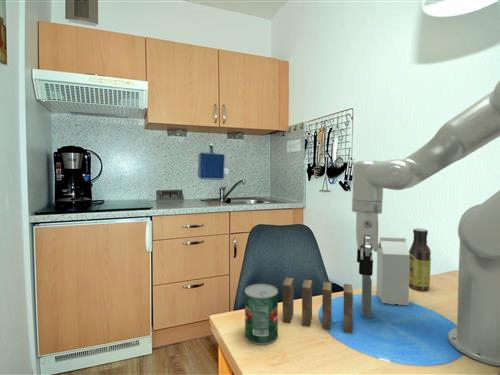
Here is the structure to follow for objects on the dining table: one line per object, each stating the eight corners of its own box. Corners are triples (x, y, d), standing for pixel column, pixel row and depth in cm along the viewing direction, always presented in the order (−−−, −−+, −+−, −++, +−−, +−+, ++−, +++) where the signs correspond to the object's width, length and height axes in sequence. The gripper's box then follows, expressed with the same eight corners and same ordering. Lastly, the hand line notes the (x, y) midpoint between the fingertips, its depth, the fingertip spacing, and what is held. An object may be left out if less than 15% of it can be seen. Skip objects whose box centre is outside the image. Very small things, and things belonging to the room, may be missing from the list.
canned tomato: (240, 329, 69) (240, 286, 68) (269, 323, 71) (269, 281, 71) (252, 348, 61) (251, 299, 61) (283, 340, 64) (283, 294, 63)
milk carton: (408, 306, 80) (410, 241, 79) (382, 304, 82) (383, 240, 81) (400, 295, 87) (401, 235, 86) (376, 293, 88) (377, 234, 88)
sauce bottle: (408, 282, 97) (409, 226, 96) (429, 286, 94) (431, 228, 93) (407, 289, 91) (409, 229, 90) (430, 293, 88) (431, 231, 87)
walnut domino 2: (312, 316, 75) (312, 280, 74) (310, 326, 70) (310, 287, 69) (304, 315, 75) (304, 279, 75) (302, 325, 70) (302, 286, 70)
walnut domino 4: (351, 322, 71) (352, 284, 71) (352, 333, 67) (352, 292, 66) (343, 321, 72) (343, 283, 72) (343, 332, 67) (343, 291, 67)
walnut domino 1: (293, 314, 76) (293, 278, 76) (290, 323, 71) (290, 285, 71) (286, 312, 77) (286, 277, 76) (282, 322, 72) (282, 284, 72)
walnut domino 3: (331, 319, 73) (331, 282, 73) (330, 330, 68) (330, 290, 68) (323, 318, 74) (323, 281, 73) (322, 328, 69) (322, 289, 68)
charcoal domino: (369, 309, 78) (369, 274, 78) (371, 318, 74) (371, 281, 73) (361, 308, 79) (362, 273, 79) (363, 317, 74) (363, 280, 74)
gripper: (387, 212, 66) (383, 282, 67) (378, 203, 82) (375, 260, 83) (353, 210, 68) (350, 278, 69) (351, 202, 84) (348, 257, 86)
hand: (364, 268), depth 76 cm, fingers open, 9 cm apart
